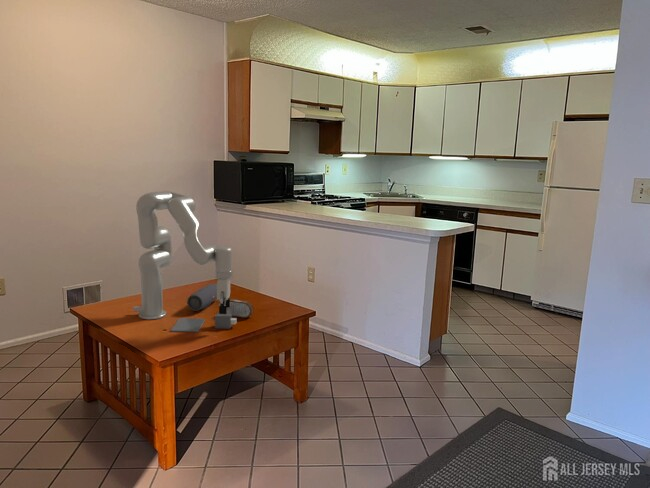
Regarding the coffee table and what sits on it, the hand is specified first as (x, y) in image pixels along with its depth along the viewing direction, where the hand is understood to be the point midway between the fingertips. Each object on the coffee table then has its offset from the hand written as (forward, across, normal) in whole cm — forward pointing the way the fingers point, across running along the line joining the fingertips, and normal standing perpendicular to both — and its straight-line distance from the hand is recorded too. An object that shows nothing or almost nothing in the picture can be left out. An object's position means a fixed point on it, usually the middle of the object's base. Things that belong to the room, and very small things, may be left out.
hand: (224, 310), depth 220 cm
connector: (+8, 0, 0) cm, 8 cm away
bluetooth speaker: (+8, -29, -15) cm, 34 cm away
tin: (+8, -15, +4) cm, 18 cm away
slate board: (+8, -1, -17) cm, 18 cm away
